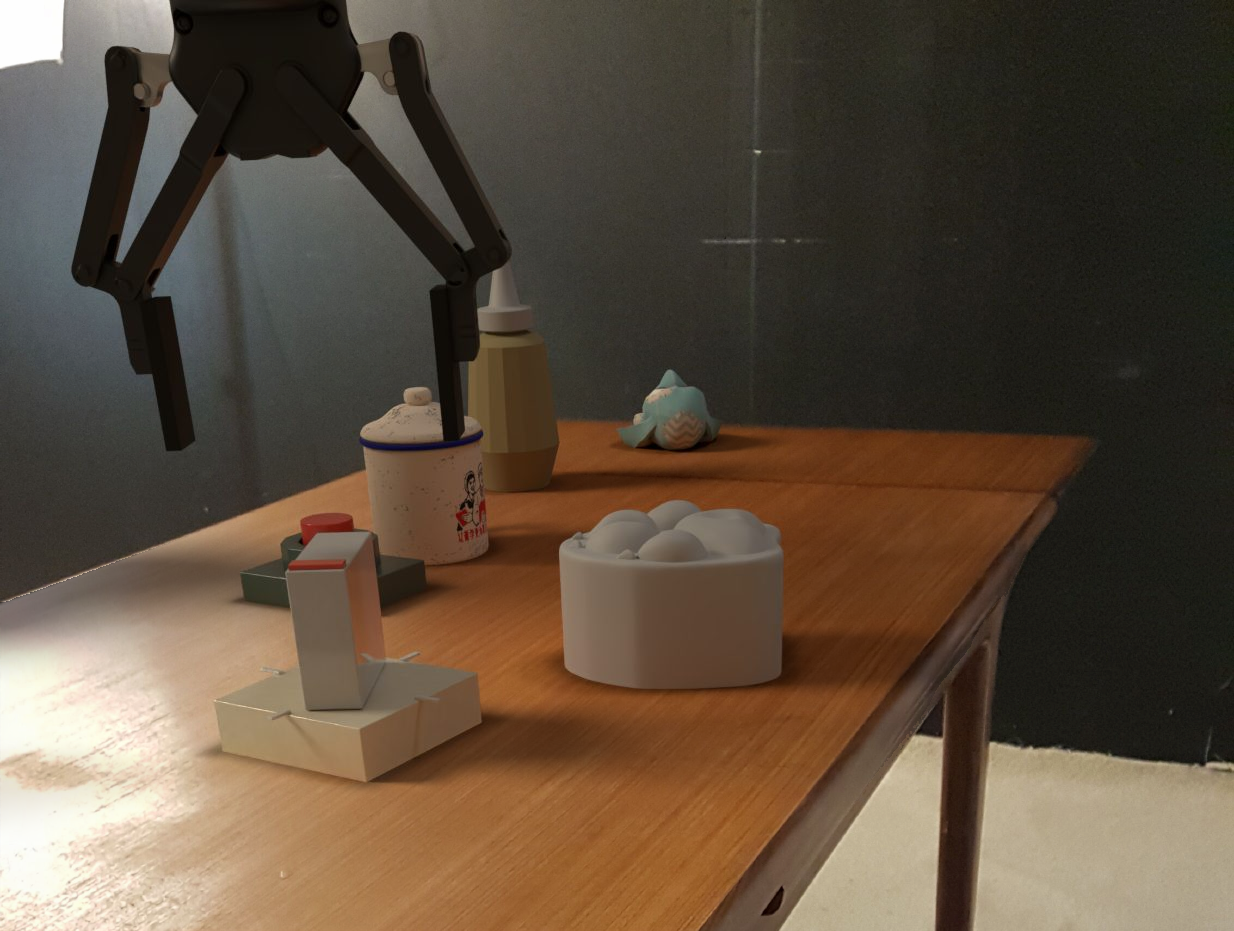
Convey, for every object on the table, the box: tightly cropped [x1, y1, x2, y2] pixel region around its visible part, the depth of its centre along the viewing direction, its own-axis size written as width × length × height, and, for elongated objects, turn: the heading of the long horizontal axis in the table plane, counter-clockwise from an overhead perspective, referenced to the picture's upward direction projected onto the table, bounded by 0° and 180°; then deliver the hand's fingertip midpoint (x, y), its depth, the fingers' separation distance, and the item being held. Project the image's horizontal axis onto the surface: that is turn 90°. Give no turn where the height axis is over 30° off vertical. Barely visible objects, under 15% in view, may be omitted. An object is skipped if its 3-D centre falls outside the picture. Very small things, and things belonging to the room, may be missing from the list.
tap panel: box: [213, 651, 483, 783], centre depth 85 cm, size 12×12×3 cm
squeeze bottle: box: [467, 260, 560, 493], centre depth 134 cm, size 8×8×18 cm
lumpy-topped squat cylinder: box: [558, 499, 785, 690], centre depth 93 cm, size 10×13×9 cm
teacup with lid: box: [358, 386, 490, 567], centre depth 118 cm, size 12×9×12 cm
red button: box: [299, 512, 355, 546], centre depth 108 cm, size 4×4×2 cm
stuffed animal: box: [615, 369, 724, 451], centre depth 152 cm, size 11×7×12 cm
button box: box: [239, 528, 428, 609], centre depth 109 cm, size 10×8×4 cm
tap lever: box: [285, 531, 387, 710], centre depth 82 cm, size 8×3×7 cm, turn 178°
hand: (317, 441), depth 77 cm, fingers open, 13 cm apart
